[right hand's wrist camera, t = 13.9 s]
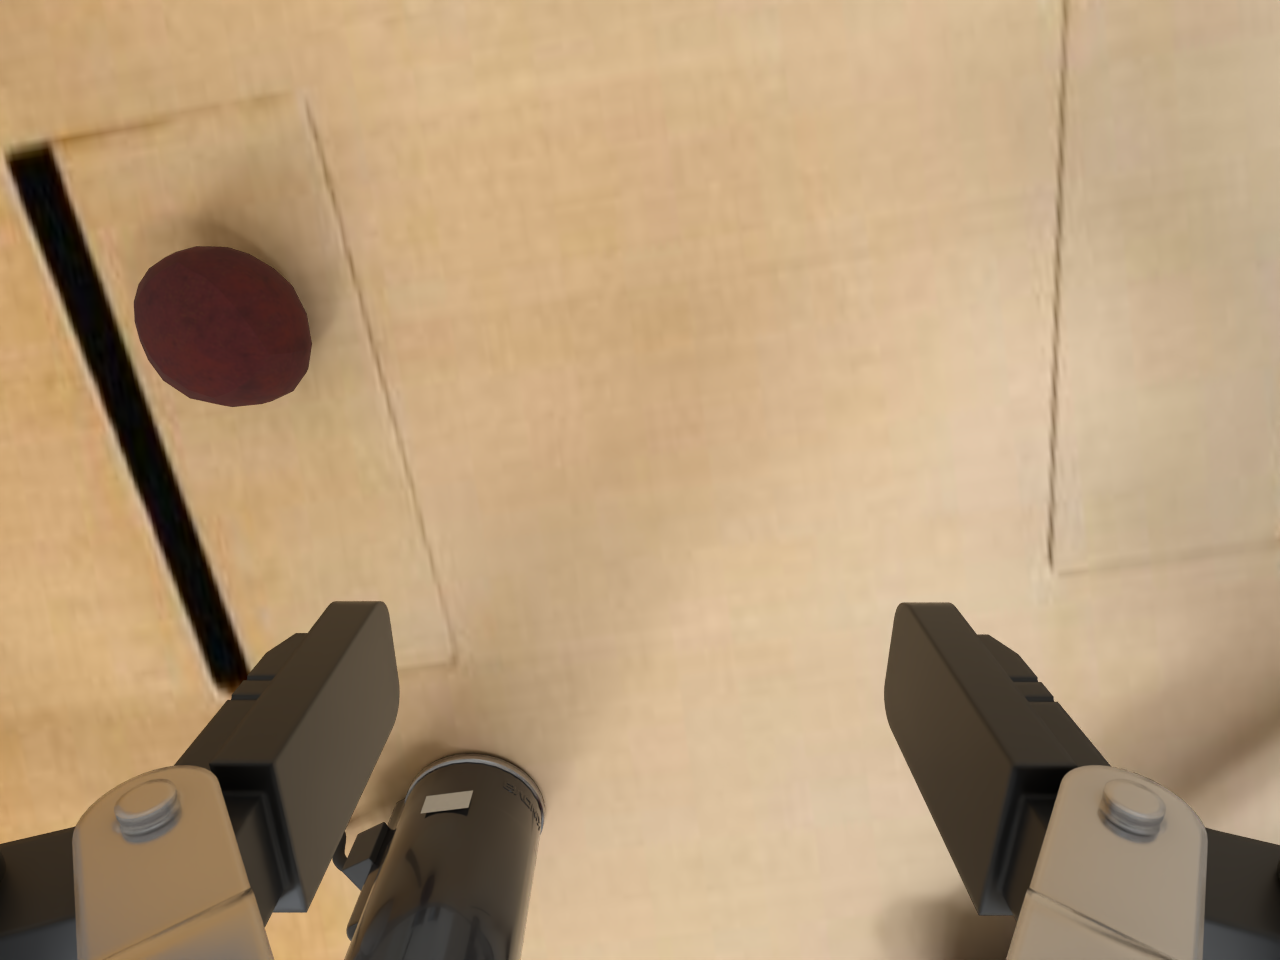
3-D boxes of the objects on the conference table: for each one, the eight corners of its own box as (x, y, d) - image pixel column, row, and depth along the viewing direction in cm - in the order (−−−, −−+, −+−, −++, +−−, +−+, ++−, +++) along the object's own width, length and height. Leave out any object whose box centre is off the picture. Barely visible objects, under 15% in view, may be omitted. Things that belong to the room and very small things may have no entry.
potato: (255, 210, 36) (170, 213, 30) (366, 337, 38) (309, 365, 32) (157, 301, 38) (56, 323, 31) (269, 417, 40) (196, 461, 33)
